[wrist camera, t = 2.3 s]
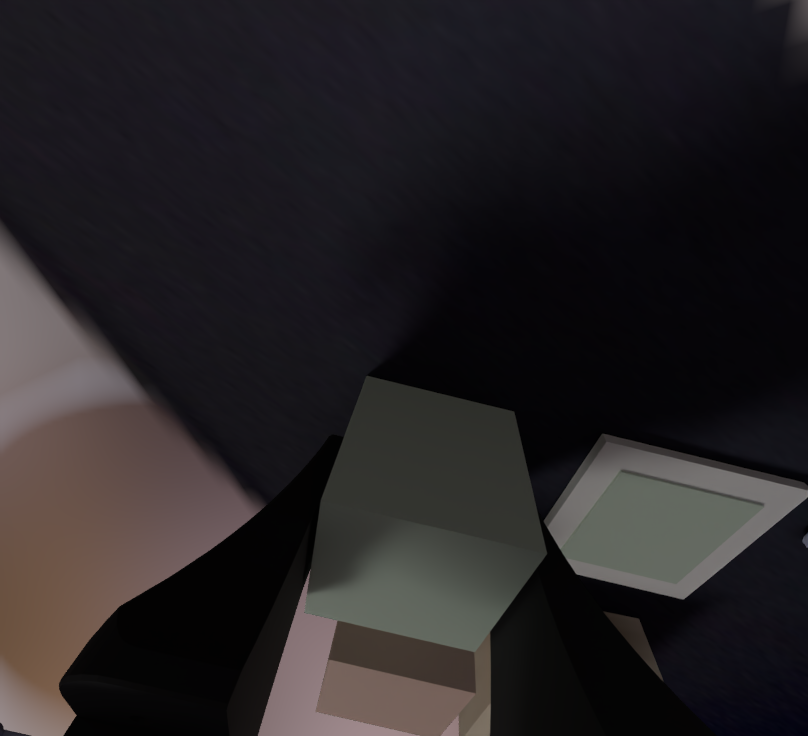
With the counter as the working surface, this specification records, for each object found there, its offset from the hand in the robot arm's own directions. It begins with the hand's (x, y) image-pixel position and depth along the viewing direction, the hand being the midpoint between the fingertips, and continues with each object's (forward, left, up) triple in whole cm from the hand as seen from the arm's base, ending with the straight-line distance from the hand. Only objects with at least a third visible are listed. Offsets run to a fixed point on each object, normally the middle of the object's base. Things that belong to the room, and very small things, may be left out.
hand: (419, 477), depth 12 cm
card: (-9, +1, -1) cm, 9 cm away
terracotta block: (-1, +8, -2) cm, 8 cm away
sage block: (0, 0, -1) cm, 1 cm away
